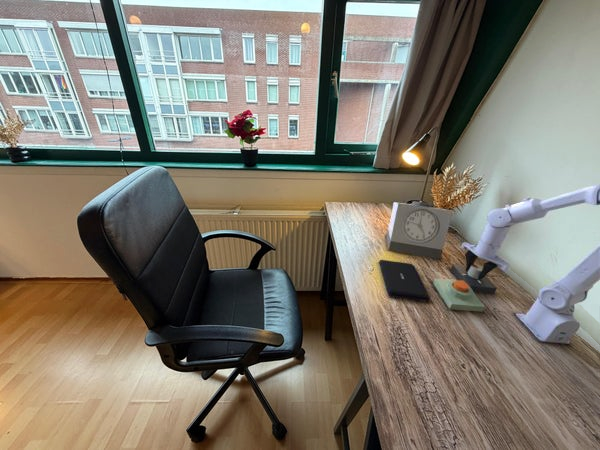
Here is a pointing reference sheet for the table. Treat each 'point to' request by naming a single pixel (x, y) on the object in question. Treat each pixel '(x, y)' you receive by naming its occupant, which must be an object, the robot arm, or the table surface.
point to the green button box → (457, 296)
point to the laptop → (403, 280)
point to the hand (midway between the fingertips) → (474, 274)
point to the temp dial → (474, 271)
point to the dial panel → (473, 280)
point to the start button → (461, 286)
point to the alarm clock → (418, 229)
